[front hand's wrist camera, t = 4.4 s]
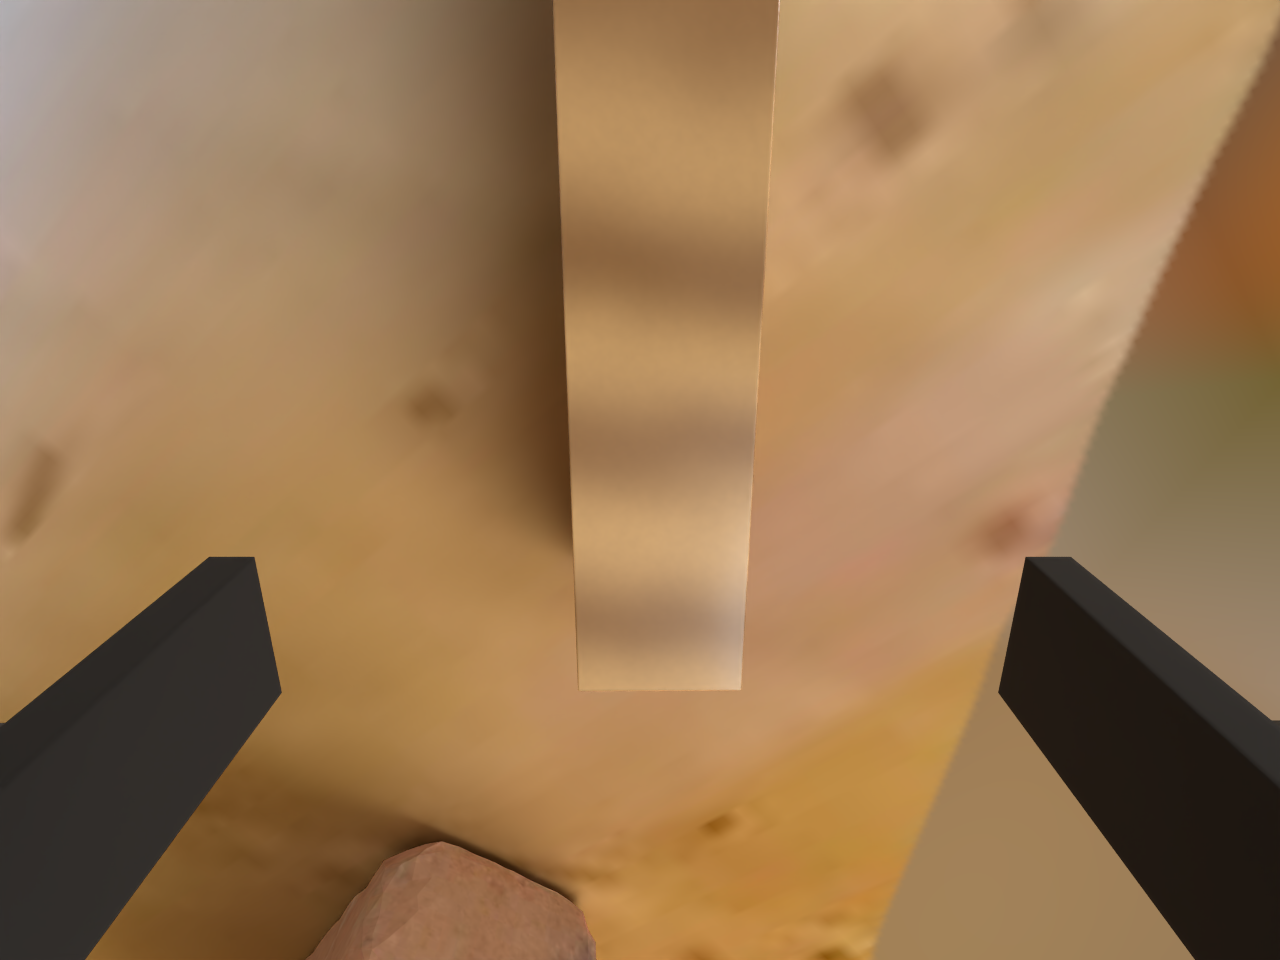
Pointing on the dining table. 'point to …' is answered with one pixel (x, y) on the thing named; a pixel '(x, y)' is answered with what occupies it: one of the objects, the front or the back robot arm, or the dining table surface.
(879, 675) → the dining table surface
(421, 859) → the stone
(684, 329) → the beam
